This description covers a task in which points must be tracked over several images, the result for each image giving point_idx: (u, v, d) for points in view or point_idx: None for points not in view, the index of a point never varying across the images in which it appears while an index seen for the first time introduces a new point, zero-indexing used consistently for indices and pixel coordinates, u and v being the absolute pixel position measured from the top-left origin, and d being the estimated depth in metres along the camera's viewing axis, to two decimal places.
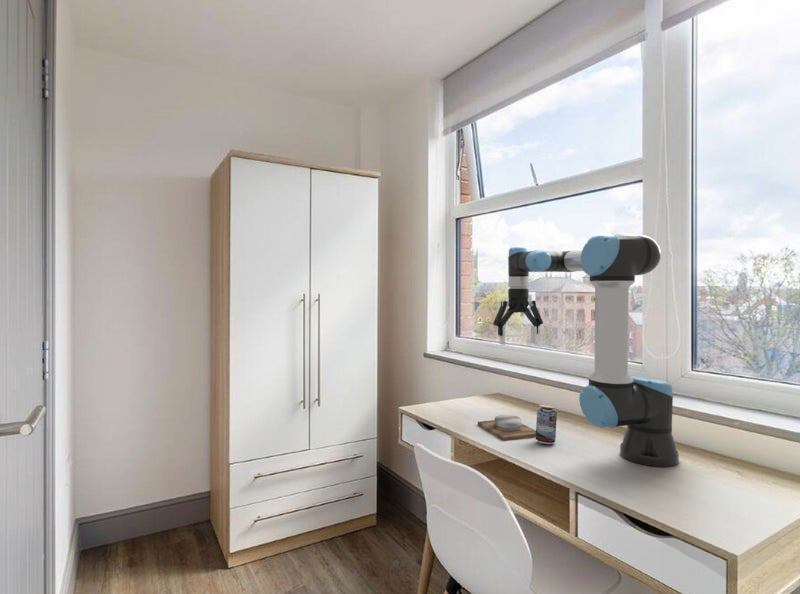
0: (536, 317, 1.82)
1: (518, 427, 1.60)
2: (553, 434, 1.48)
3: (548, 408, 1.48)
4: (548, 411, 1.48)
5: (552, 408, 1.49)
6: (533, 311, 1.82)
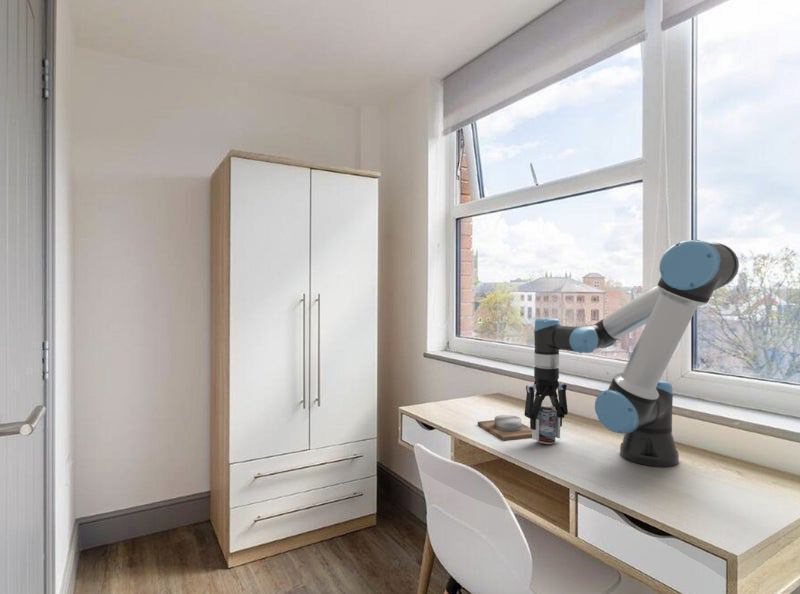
0: (561, 404, 1.52)
1: (518, 427, 1.60)
2: (553, 434, 1.48)
3: (548, 408, 1.48)
4: (548, 411, 1.48)
5: (552, 408, 1.49)
6: (560, 396, 1.52)
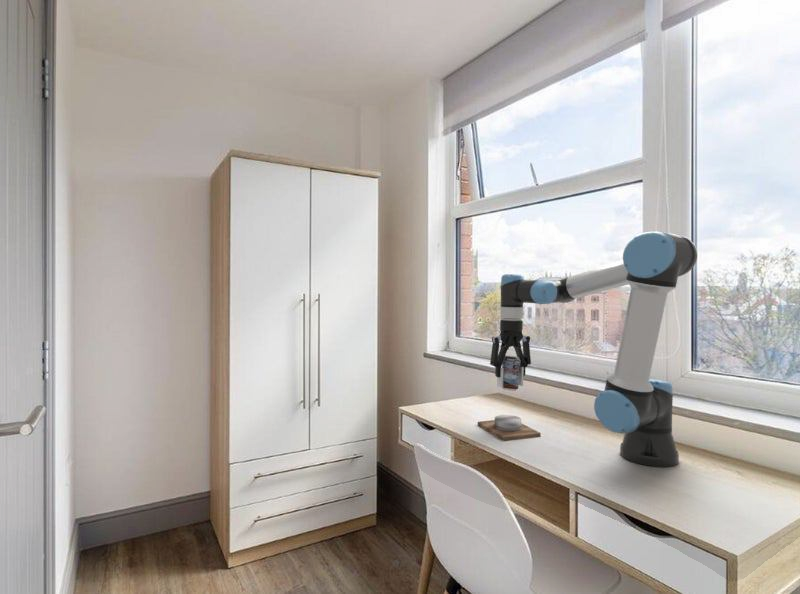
0: (525, 355, 1.63)
1: (518, 427, 1.60)
2: (516, 381, 1.59)
3: (512, 357, 1.60)
4: (512, 360, 1.59)
5: (516, 357, 1.60)
6: (524, 348, 1.63)
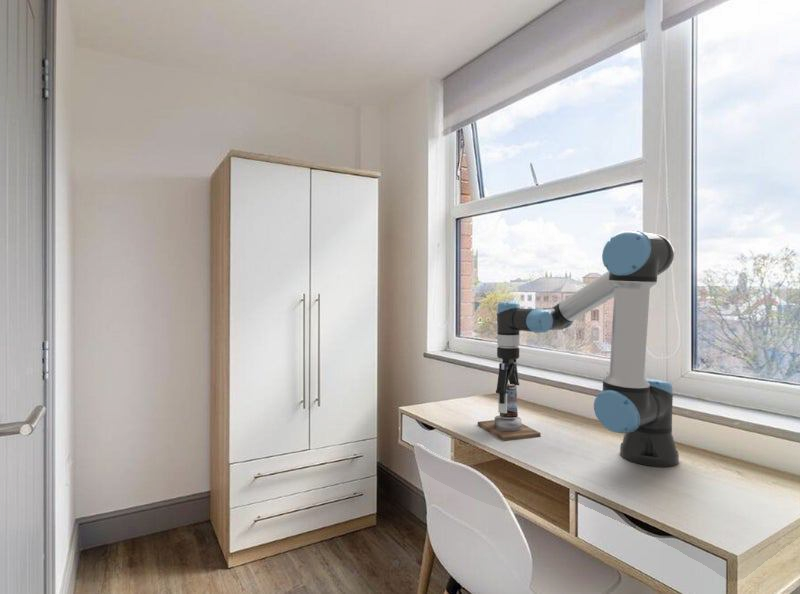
0: None
1: (518, 427, 1.60)
2: None
3: (512, 386, 1.62)
4: (514, 389, 1.61)
5: (514, 385, 1.63)
6: None
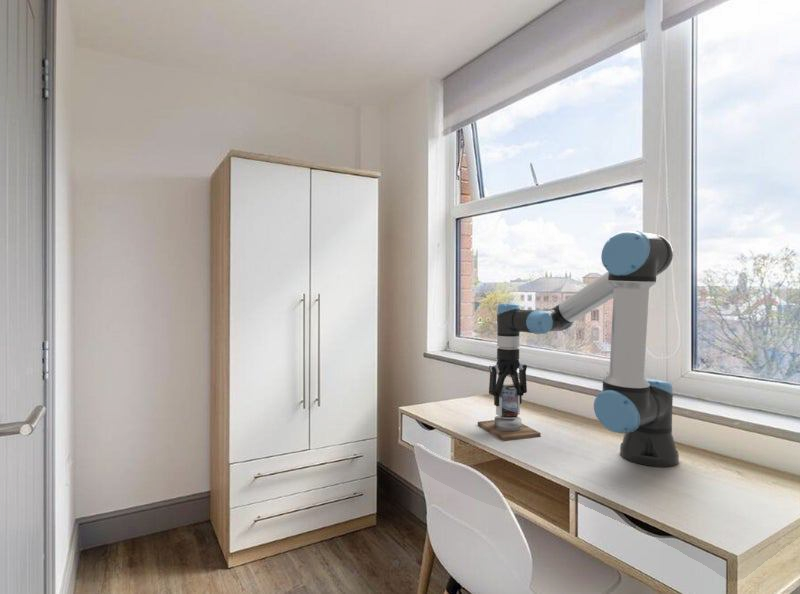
0: (521, 383, 1.64)
1: (518, 427, 1.60)
2: None
3: (512, 386, 1.62)
4: (513, 389, 1.61)
5: None
6: (521, 376, 1.64)
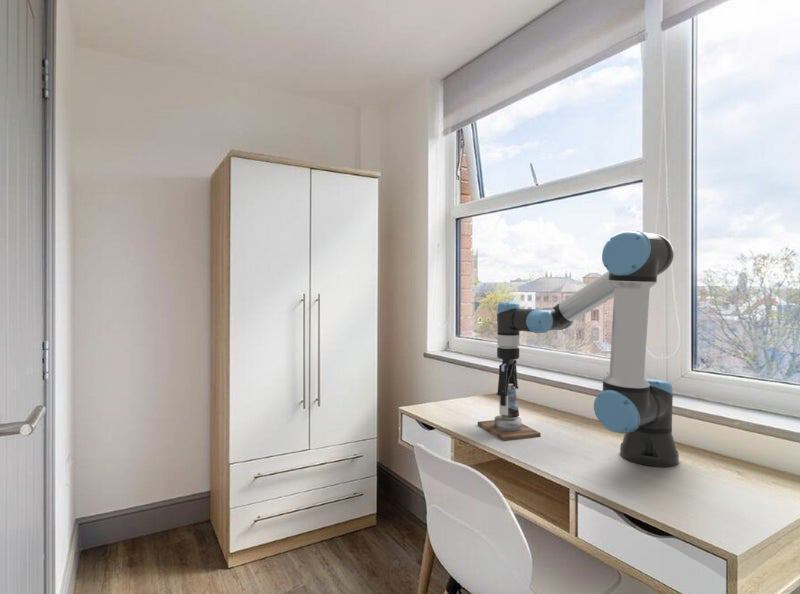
0: None
1: (518, 427, 1.60)
2: None
3: (513, 385, 1.63)
4: None
5: None
6: None
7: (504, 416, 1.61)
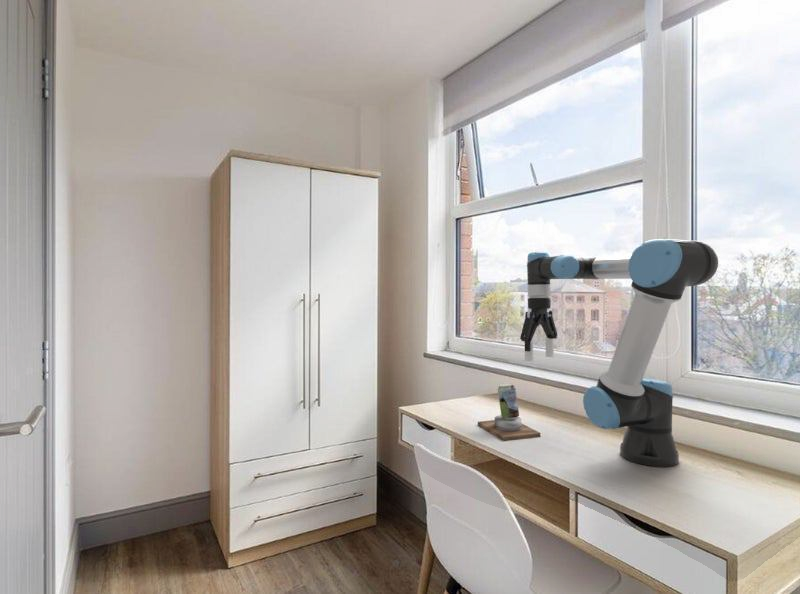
0: (551, 329, 1.67)
1: (518, 427, 1.60)
2: None
3: None
4: None
5: None
6: (549, 322, 1.67)
7: (504, 416, 1.61)
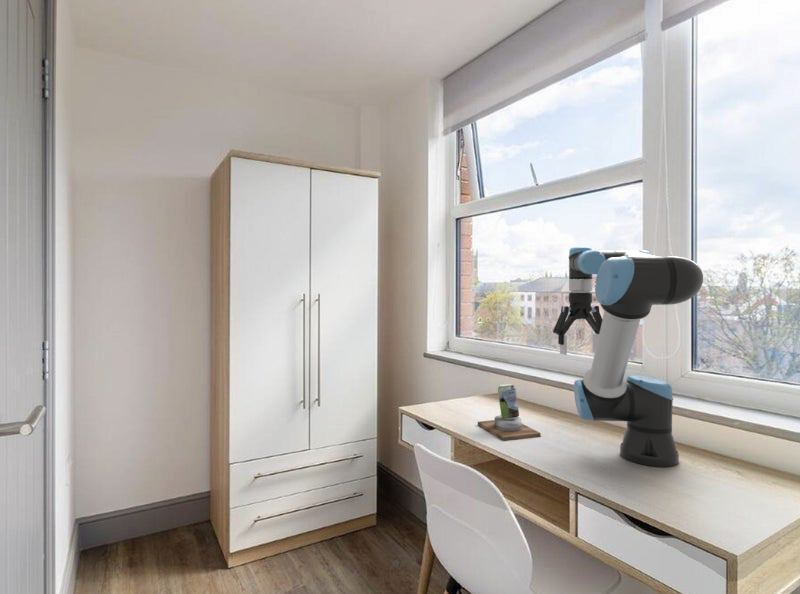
0: (599, 324, 1.65)
1: (518, 427, 1.60)
2: None
3: None
4: None
5: None
6: (596, 317, 1.65)
7: (504, 416, 1.61)
